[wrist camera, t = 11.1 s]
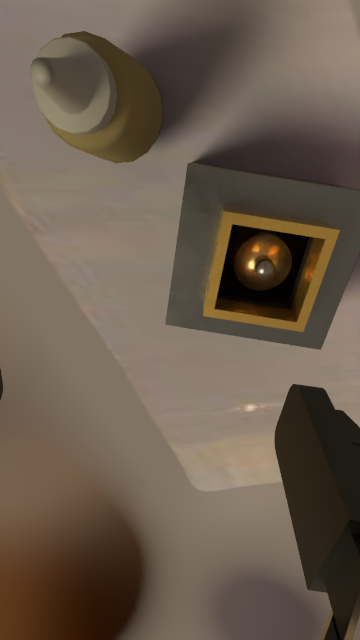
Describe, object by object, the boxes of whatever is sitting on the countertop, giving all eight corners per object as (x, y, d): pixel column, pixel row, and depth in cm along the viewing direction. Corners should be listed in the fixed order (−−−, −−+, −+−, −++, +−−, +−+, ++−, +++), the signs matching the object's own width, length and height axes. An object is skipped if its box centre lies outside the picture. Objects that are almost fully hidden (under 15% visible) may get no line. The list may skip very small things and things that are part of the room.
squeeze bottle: (71, 83, 31) (-78, 0, 15) (151, 50, 29) (84, -84, 13) (104, 173, 34) (11, 186, 18) (177, 148, 32) (149, 137, 16)
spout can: (234, 216, 35) (243, 235, 26) (280, 223, 35) (305, 246, 26) (224, 261, 37) (230, 293, 28) (267, 268, 37) (287, 303, 28)
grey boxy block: (192, 162, 33) (186, 163, 23) (339, 186, 33) (399, 198, 23) (173, 290, 39) (162, 337, 29) (297, 310, 39) (329, 364, 29)
